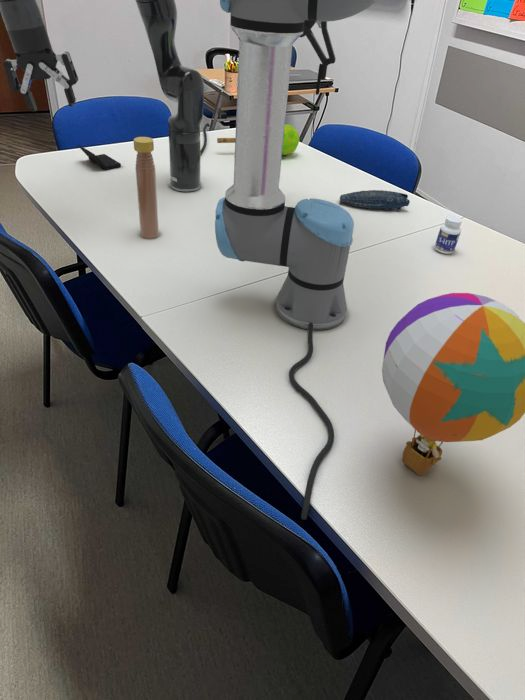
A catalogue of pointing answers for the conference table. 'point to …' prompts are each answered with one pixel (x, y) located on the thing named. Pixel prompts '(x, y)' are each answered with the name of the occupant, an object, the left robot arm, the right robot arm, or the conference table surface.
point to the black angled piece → (101, 159)
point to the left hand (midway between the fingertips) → (53, 108)
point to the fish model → (376, 199)
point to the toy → (455, 372)
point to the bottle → (147, 195)
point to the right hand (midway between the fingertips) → (290, 90)
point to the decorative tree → (288, 141)
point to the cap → (143, 144)
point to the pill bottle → (448, 235)
